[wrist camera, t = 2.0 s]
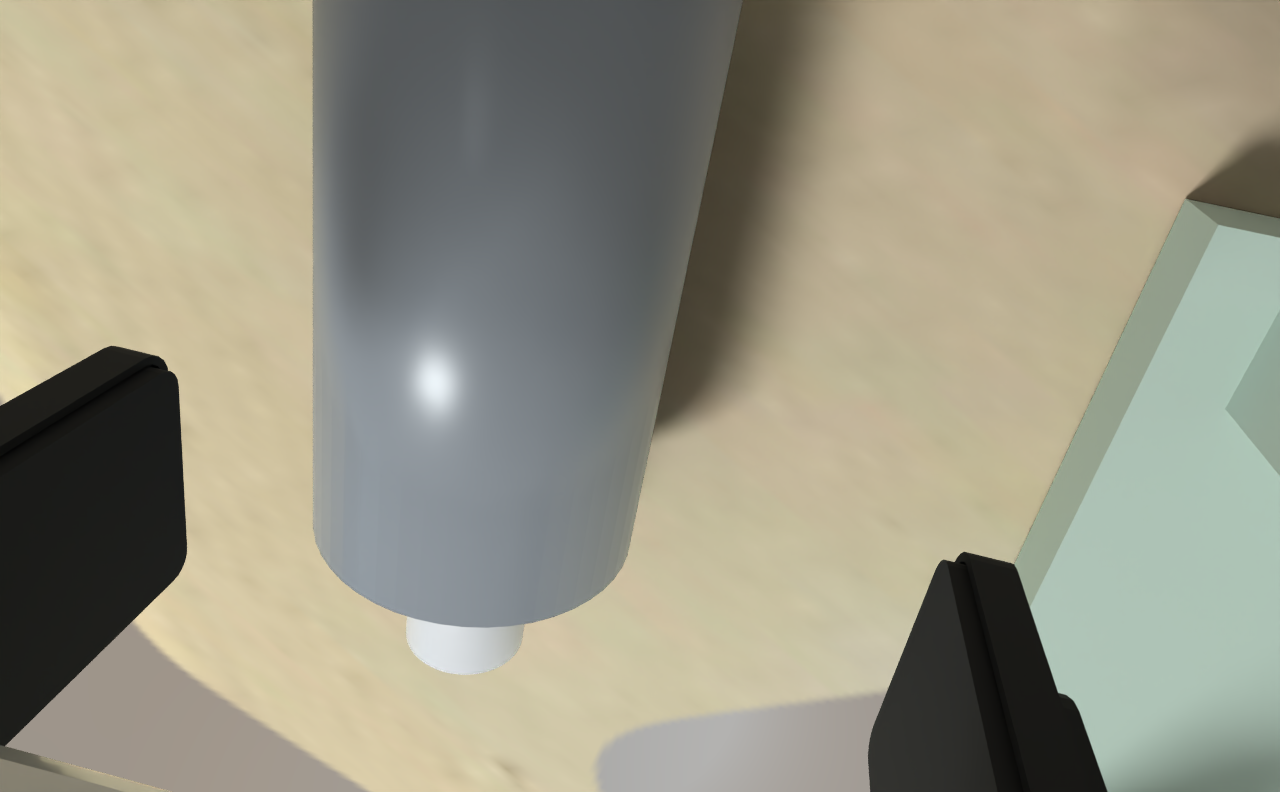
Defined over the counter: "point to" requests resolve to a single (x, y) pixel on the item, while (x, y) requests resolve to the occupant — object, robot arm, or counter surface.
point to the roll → (498, 294)
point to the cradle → (1176, 525)
